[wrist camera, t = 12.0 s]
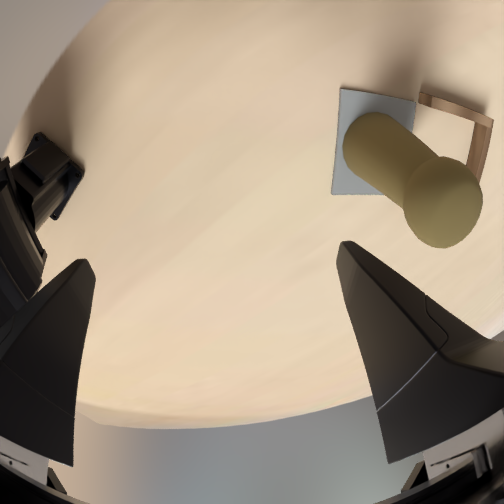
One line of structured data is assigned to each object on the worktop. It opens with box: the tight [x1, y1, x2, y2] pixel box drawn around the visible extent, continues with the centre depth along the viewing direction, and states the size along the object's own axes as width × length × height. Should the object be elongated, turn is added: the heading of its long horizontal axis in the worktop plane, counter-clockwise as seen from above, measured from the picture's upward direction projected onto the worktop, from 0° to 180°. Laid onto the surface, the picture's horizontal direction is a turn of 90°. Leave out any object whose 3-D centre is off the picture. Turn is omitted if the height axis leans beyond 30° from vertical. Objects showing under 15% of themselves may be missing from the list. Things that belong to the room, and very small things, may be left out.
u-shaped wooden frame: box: [419, 93, 494, 182], centre depth 19 cm, size 9×11×2 cm
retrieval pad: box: [331, 89, 416, 195], centre depth 19 cm, size 7×9×1 cm
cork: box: [342, 112, 483, 248], centre depth 15 cm, size 6×6×11 cm
